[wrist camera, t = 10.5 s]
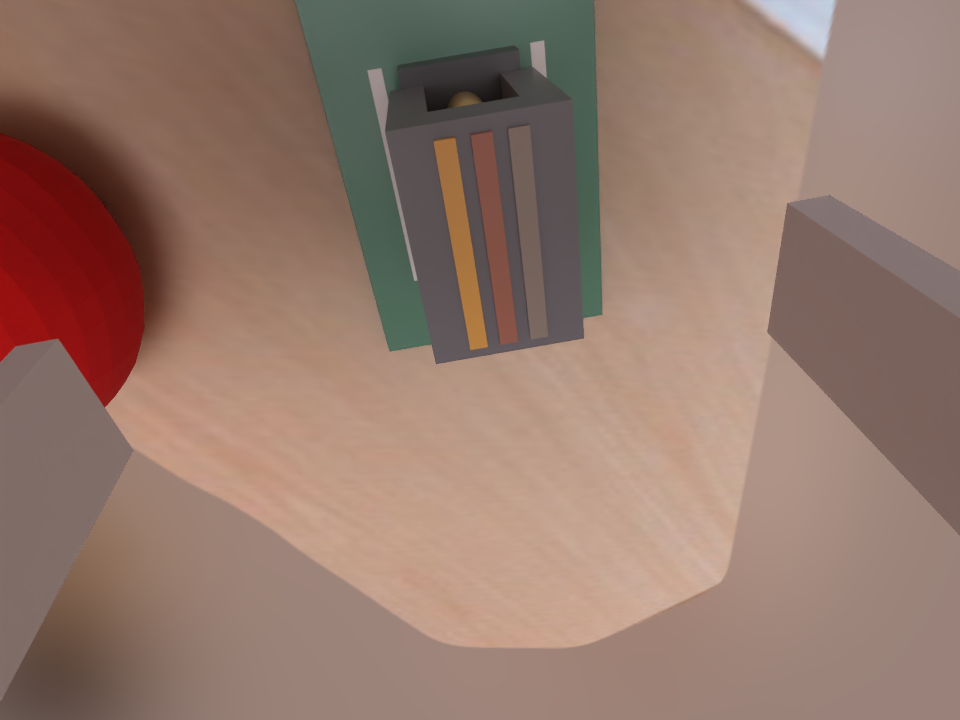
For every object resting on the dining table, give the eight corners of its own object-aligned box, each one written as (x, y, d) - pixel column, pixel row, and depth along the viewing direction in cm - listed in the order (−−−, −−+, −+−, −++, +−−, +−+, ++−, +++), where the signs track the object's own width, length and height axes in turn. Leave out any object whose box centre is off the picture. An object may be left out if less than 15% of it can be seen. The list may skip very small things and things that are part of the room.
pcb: (288, -34, 24) (260, -32, 19) (588, -84, 24) (631, -94, 19) (389, 346, 34) (387, 405, 29) (599, 310, 34) (629, 363, 29)
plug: (389, 91, 25) (384, 132, 19) (533, 66, 25) (574, 100, 19) (430, 285, 30) (436, 366, 24) (549, 264, 30) (585, 340, 24)
